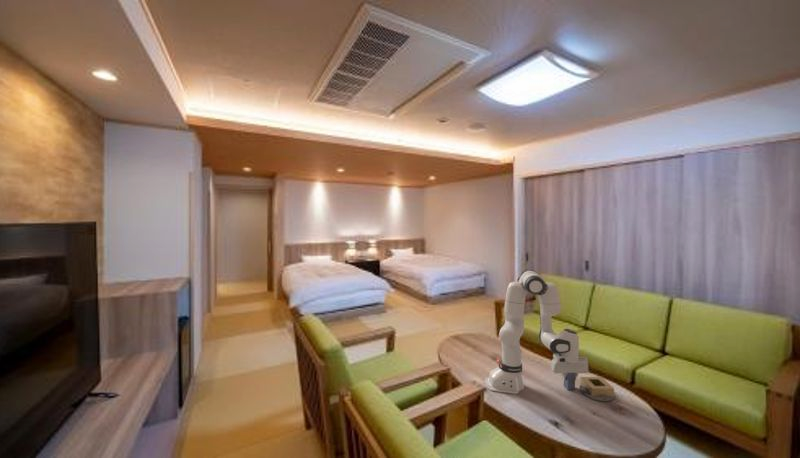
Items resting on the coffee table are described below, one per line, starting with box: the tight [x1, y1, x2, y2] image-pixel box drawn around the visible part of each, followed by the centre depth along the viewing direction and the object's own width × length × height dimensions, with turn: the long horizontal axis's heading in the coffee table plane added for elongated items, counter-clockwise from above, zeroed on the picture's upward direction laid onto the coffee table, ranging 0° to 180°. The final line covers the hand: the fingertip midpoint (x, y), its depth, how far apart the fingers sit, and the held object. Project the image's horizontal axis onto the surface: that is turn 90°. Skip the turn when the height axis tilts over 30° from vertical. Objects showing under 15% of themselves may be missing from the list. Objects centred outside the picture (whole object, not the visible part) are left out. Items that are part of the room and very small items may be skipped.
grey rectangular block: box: [563, 373, 576, 391], centre depth 184 cm, size 4×5×10 cm
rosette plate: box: [579, 376, 616, 403], centre depth 179 cm, size 17×17×6 cm
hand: (569, 379), depth 184 cm, fingers closed on grey rectangular block, 4 cm apart
